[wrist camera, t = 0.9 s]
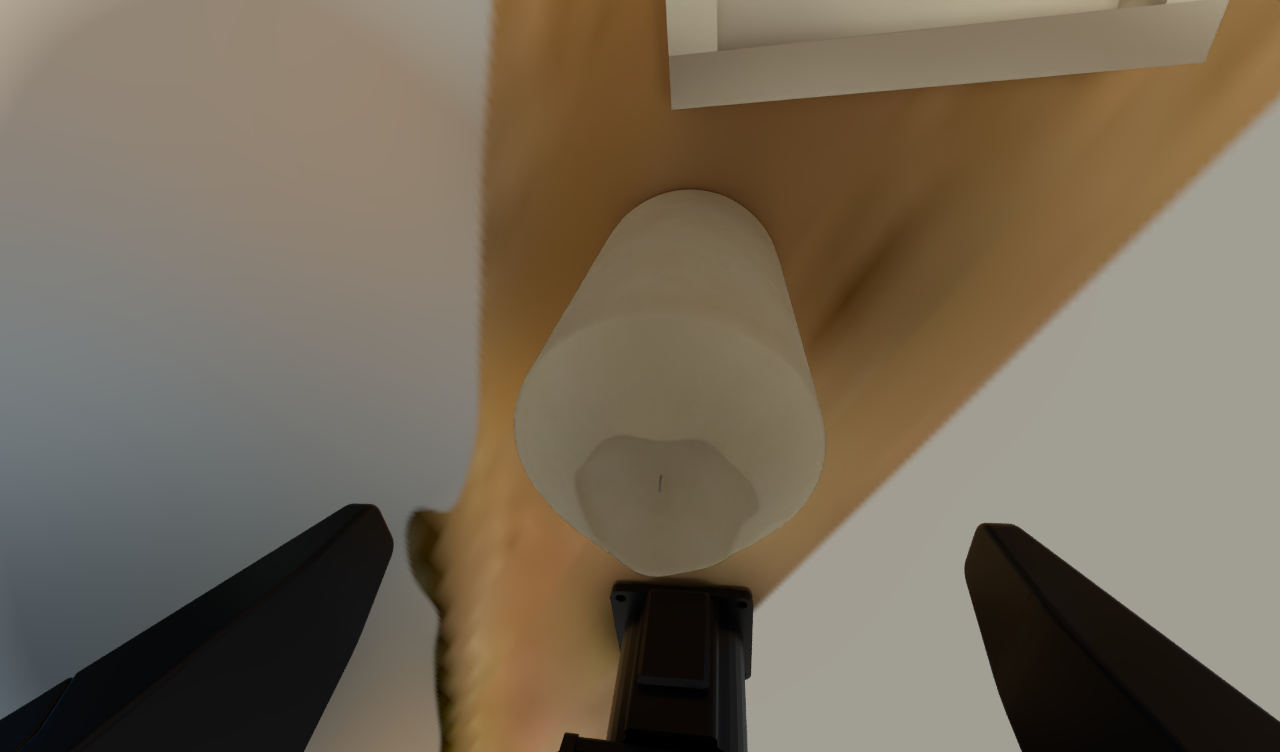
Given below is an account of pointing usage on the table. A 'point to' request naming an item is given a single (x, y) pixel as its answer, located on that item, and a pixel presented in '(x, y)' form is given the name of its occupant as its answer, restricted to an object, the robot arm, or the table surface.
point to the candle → (675, 392)
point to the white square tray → (916, 43)
